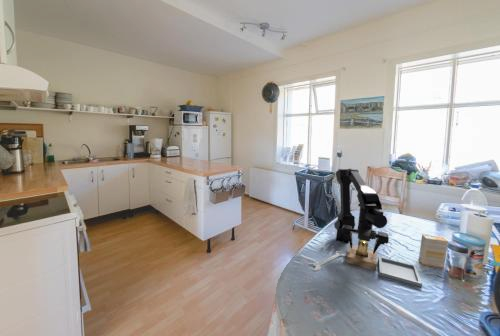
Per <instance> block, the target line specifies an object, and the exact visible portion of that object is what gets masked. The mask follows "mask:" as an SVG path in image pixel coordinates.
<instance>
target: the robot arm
mask: <svg viewBox="0 0 500 336" xmlns="http://www.w3.org/2000/svg"><path fill="white" fill-rule="evenodd" d="M359 172H360V171H359V169H358V168H345V169H344V168H338V170H337V171H336V172H335V177H336V181H337V182H338V184H339V188H340V189H339V190H340V194H339V197H340V212H339V214H338V215H337V220H336V221H335V222H334V224H333V225H334V228H335V230H336V237H335V241H337V242H341V243H346V244H349V245H350V247H351V248H352V246H353V234H354V235H355V234H357V239H358V241H359V240H365V241H367V242H368V243H369V242H371V240H375V242H374V246H373V249H372V251H373V254H374V253H375V252H377V250H378V249H379V247H380V246H382V245H385V244H387V245H388V244H389V239H390V237H389V234H388V232H383V231H377V230H373V226H374V227H375V228H377V229H383V228H384V227H386V226H387V224H388V218H387V216H386V215H384V211H382V210H383V207H382V202H381V200H380V196H379V195H378V193H377V192H376V191H375V190H374V189H373V188H371V187H369V186H368V185H367V184H366V182H365V180H364V179H363V178H362V176H361V174H360V173H359ZM351 184H353V186H354V188H355V190H356V192H357V195H356V197H357V199H358V205H357V206H358V207H359V214H358V222H357V228H355V226H356V220H355V216H354V215H353V214H352V212H351Z"/></svg>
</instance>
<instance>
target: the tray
mask: <svg viewBox="0 0 500 336" xmlns="http://www.w3.org/2000/svg"><path fill="white" fill-rule="evenodd" d="M377 264H378V277H379V278H383V279H387V280H389V281H393V282H397V283H401V284H403V285H408V286H410V287H416V288H418V289H422V287H423V282H422V280H421V276H420V273H419V271H418V268H417V265H416V264H413V263H408V262H403V261H400V260H395V259H391V258H388V257H385V256H380V255H379V256H378V258H377Z"/></svg>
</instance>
